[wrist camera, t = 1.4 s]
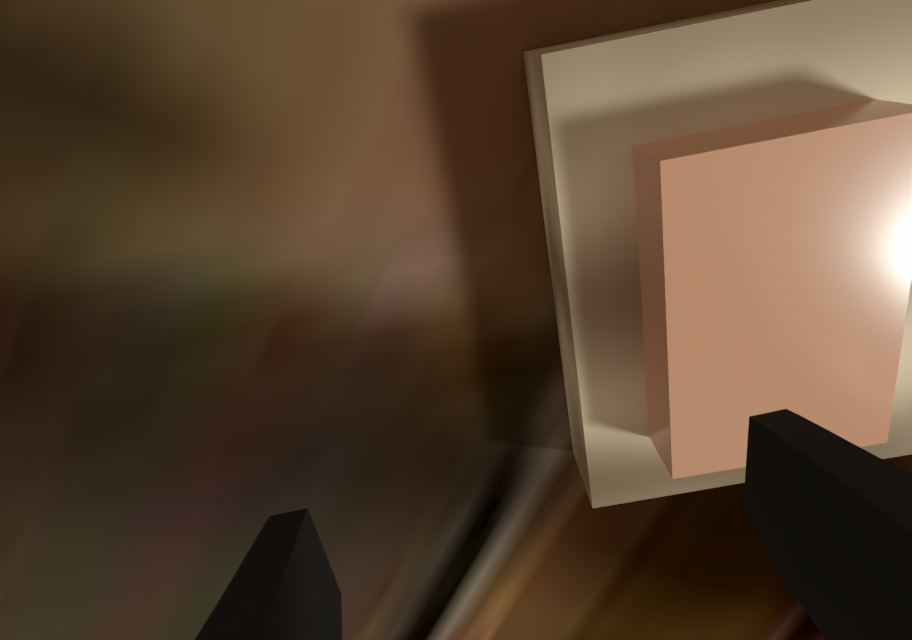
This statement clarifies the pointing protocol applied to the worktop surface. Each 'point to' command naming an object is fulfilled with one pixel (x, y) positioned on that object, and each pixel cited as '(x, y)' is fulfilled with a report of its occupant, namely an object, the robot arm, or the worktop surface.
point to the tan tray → (613, 188)
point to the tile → (774, 278)
